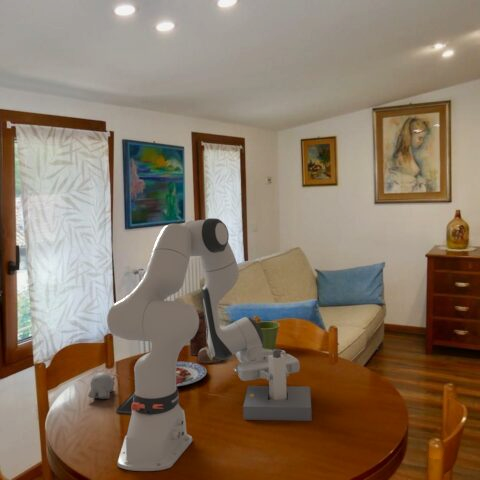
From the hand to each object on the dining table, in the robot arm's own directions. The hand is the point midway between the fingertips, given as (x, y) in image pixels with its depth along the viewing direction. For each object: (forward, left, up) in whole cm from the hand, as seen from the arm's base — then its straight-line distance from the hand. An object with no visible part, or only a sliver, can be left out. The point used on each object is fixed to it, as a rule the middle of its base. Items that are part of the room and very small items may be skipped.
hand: (278, 376), depth 154 cm
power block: (+1, 0, -11) cm, 11 cm away
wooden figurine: (+57, +36, -11) cm, 68 cm away
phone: (+3, +46, -11) cm, 48 cm away
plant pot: (+59, +7, -11) cm, 60 cm away
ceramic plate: (+26, +40, -11) cm, 49 cm away
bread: (+47, +29, -11) cm, 57 cm away
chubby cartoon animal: (+9, +59, -11) cm, 61 cm away
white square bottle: (+1, 0, -9) cm, 9 cm away
